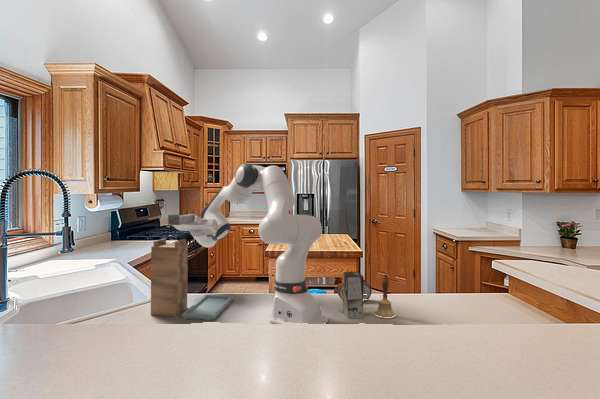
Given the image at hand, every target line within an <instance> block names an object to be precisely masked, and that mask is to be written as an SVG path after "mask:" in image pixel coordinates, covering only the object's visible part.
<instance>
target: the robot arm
mask: <svg viewBox="0 0 600 399" xmlns="http://www.w3.org/2000/svg"><path fill="white" fill-rule="evenodd" d="M254 191H256V192H261V193H262V192H263V193H264V197H265V200H266V203H267V214H266V215H265V216H264V217H263V218H262V219H261V221H260V222H259V225H258V231H257V232H258V236H259V237H260V240H262V242H263V243H264V244H269V245H274V246H275V245H276V246H277V245H287V248H286V250H285V251H284V252H282V253H281V254H280V255H279V256H277V258H276V261H275V279H274V283H273V286H274V290H275V291H274V295H273V301H272V309H271V314H270V318H269V323H271V324H275V325H278V324H288V323H293V324H294V323H301V324H302V323H308V324H324V323H327V324H328V322H329V321H328V320H329V319H328V318H327V317H325V316H323V315H322V308H321V305H320V303H319V302H318V301H317V300H316V299H315V297H313V296H312V294H311V293H310V292H309V289H308V288H309V287H311V286H310V285H311V284H310V283H307V282H306V279H305V275H306V274H305V272H306V261H307V256H308V253H309V251H310V249H311V248H312V246H313V244H314V243H315V242H316V241H317V240H318V239H320V237H321V234H322V231H323V228H322V223H321V221H320V219H319V218H318V217H316V216H314V215H308V214H290V213H289V211H290V210H291V209H293V207H294V205H295V201H296V198H295V195H294V193H293V189H292V187H291V185H290V182H289V179H288V178H287V175H286V173H285V172H284V171H283V169H282V168H281V167H279V166H278V165H269V166H266V167H265V166H263V165H258V164H257V165H256V164H252V163H242V164H241V165H239V166H238V167H237V169H236V171H235V176H234V177H233V179H232V180H231V182H230V184H226V185H224V186H222V187H221V188H220V189H219V190H218V191H217V193H216V194H215V195H214V196H213V198H212V199H211V200H210V201H209V203H208V204H206V205H205V206H204V207H203V208H202V209H201V212H200V217H199V216H198V215H197V216H194V217H193V220H194V222H189V223H185V224H180V225H172V226H173V227H174V228H175V230H178V231H183V232H184V231H185V232H189V234H190V235H191V236H192V237H193V239H194V240H196V242H197V243H198V244H199V245H200V246H202V247H203V248H212V247H214V246H215V245H216V243H217V242H218V241H220V240H222V239H224V238H226V237H227V236H228V235H229V233H230V231H231V227H232V225H231V223H230V222H229V220H228V219H227V218H226V217H225V215H224V214H223V212H222V211H221V206H222V205H223V204H224V202H226V201H228V202H230V203H232V204H237V205H241V204H244V203H246V202H247V201H248V200H249V199H250V198H251V196H252V194H253V192H254Z"/></svg>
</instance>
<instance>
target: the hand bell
mask: <svg viewBox="0 0 600 399" xmlns="http://www.w3.org/2000/svg"><path fill="white" fill-rule="evenodd" d="M389 285H390V280H389V277H388V274H387V273H386V274H383V277H382V280H381V287H382V291H383V292H382V299H381V300H378V307H377V309H376V310H375V311H374V313H375V314H376V315H378V316H382V317H392V316H394V315H396V313H395V312H394V311H393V309H392V302H391V301H390V300H389V299H388V289H389Z"/></svg>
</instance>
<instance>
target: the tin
mask: <svg viewBox="0 0 600 399" xmlns="http://www.w3.org/2000/svg"><path fill="white" fill-rule="evenodd" d="M343 286H344V281H343V282H340V284H339V285H338V287H337V295H338V296H339V298H340V299H341V300H342V301H343ZM363 294H367V295H363V299H368V300H369V299H370V298H371V295H372V288H371V287H370V285H369V284H368V283H367V282H365V281H364V287H363Z"/></svg>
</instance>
